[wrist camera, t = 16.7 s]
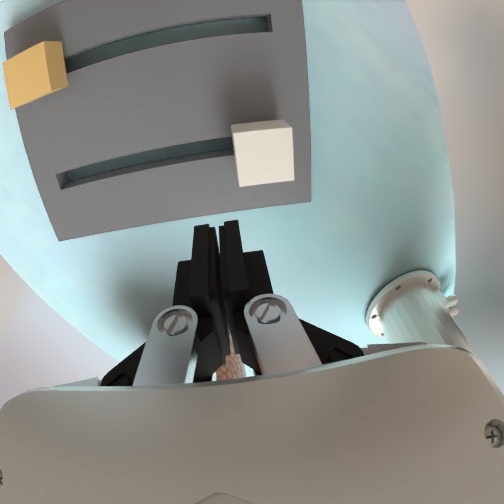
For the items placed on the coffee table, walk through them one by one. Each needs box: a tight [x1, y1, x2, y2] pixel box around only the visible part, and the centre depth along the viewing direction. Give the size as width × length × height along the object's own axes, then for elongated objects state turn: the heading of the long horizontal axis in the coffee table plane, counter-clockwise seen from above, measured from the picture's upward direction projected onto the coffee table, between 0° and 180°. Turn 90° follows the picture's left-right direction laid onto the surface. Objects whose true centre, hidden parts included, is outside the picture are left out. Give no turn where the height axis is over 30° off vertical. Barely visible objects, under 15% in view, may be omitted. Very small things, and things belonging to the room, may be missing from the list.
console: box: [4, 0, 311, 241], centre depth 21 cm, size 25×22×2 cm
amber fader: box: [3, 41, 68, 109], centre depth 16 cm, size 4×4×5 cm
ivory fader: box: [231, 119, 294, 187], centre depth 23 cm, size 4×4×5 cm
